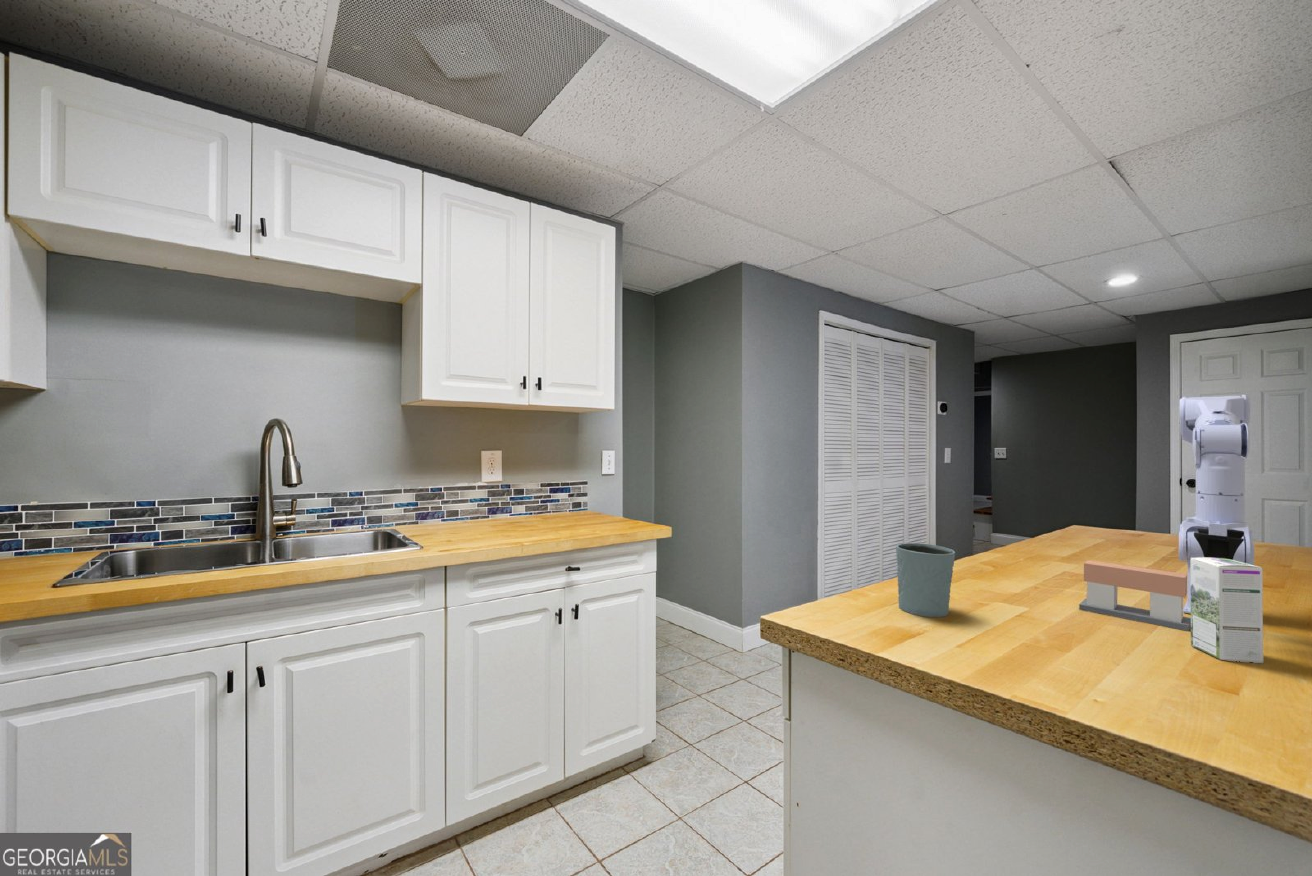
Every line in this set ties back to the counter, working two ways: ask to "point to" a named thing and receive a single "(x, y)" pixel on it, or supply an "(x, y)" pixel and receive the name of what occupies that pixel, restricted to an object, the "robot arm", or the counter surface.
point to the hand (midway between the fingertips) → (1219, 573)
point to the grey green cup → (924, 578)
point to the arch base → (1161, 608)
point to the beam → (1136, 578)
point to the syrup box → (1227, 609)
